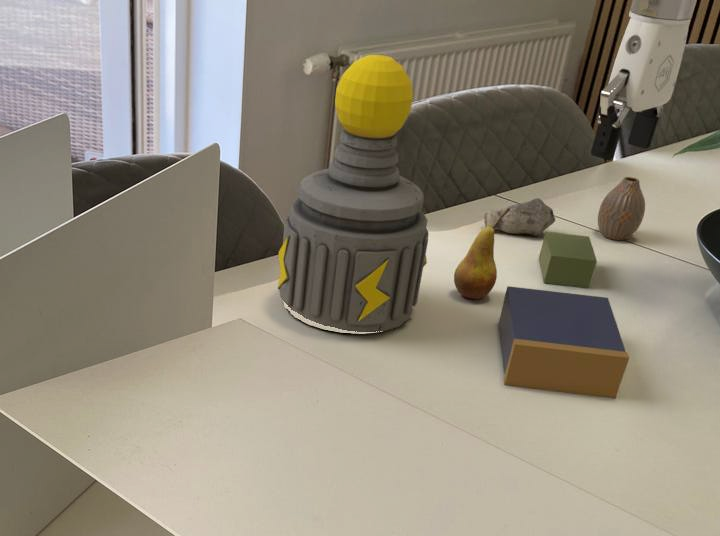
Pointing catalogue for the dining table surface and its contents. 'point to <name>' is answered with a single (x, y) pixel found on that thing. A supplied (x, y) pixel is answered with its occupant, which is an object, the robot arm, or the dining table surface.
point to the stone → (522, 218)
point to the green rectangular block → (567, 260)
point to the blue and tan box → (561, 342)
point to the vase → (622, 210)
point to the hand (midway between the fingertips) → (620, 151)
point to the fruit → (478, 266)
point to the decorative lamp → (358, 214)
